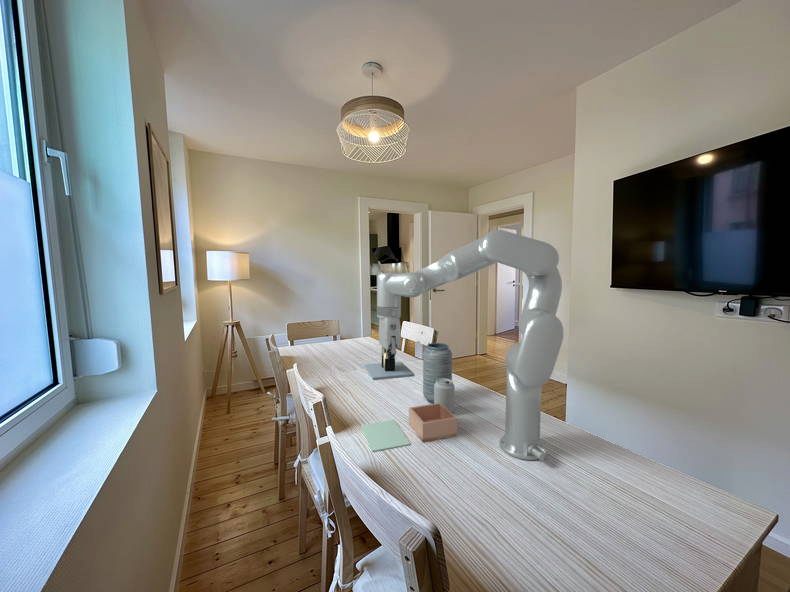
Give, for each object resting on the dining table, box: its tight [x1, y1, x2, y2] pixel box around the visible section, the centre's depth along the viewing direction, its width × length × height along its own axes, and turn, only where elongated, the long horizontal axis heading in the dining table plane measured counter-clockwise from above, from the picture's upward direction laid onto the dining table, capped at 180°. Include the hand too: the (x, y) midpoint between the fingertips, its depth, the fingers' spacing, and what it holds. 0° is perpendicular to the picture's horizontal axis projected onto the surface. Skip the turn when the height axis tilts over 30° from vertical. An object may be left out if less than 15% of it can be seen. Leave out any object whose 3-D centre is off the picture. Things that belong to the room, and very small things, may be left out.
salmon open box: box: [408, 403, 458, 443], centre depth 102 cm, size 12×12×6 cm
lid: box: [363, 352, 416, 381], centre depth 98 cm, size 13×13×6 cm
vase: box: [422, 342, 453, 404], centre depth 125 cm, size 12×12×23 cm
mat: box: [360, 419, 412, 453], centre depth 99 cm, size 16×12×1 cm
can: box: [434, 378, 455, 414], centre depth 115 cm, size 8×8×12 cm
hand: (388, 368), depth 98 cm, fingers closed on lid, 3 cm apart
